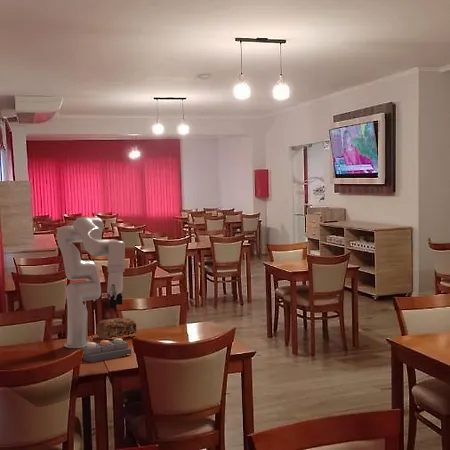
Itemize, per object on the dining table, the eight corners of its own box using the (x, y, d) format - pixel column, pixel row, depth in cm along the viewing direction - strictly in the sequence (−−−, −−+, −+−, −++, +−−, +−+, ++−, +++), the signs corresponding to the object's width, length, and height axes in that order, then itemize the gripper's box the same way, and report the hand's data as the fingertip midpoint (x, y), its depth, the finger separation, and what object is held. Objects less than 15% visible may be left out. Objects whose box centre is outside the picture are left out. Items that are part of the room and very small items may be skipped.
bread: (103, 341, 310) (103, 322, 309) (96, 337, 319) (96, 318, 318) (137, 337, 319) (137, 318, 319) (129, 333, 328) (129, 315, 328)
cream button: (84, 348, 275) (84, 343, 275) (93, 347, 278) (93, 341, 278) (89, 350, 272) (89, 344, 272) (97, 349, 275) (97, 343, 275)
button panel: (78, 357, 278) (78, 345, 277) (118, 350, 291) (118, 338, 291) (90, 362, 268) (90, 350, 268) (131, 355, 282) (131, 343, 282)
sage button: (112, 344, 284) (112, 338, 284) (119, 343, 287) (119, 337, 287) (116, 346, 281) (116, 340, 281) (124, 344, 284) (124, 339, 284)
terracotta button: (98, 346, 280) (98, 340, 280) (106, 345, 283) (106, 339, 282) (103, 348, 277) (103, 342, 277) (111, 346, 279) (111, 341, 279)
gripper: (113, 266, 278) (112, 302, 279) (102, 270, 261) (102, 309, 262) (129, 266, 278) (128, 303, 278) (119, 270, 260) (119, 310, 261)
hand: (115, 306), depth 270 cm, fingers open, 9 cm apart
